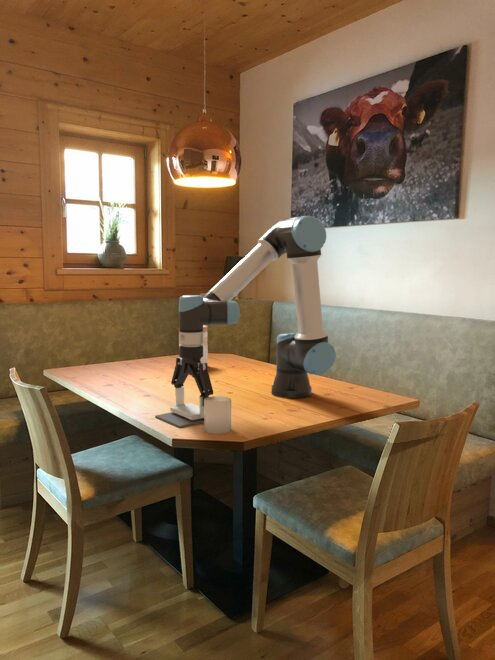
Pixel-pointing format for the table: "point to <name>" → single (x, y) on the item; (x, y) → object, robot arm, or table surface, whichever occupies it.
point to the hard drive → (187, 411)
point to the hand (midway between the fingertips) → (191, 411)
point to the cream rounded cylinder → (217, 414)
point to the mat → (178, 419)
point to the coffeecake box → (204, 346)
